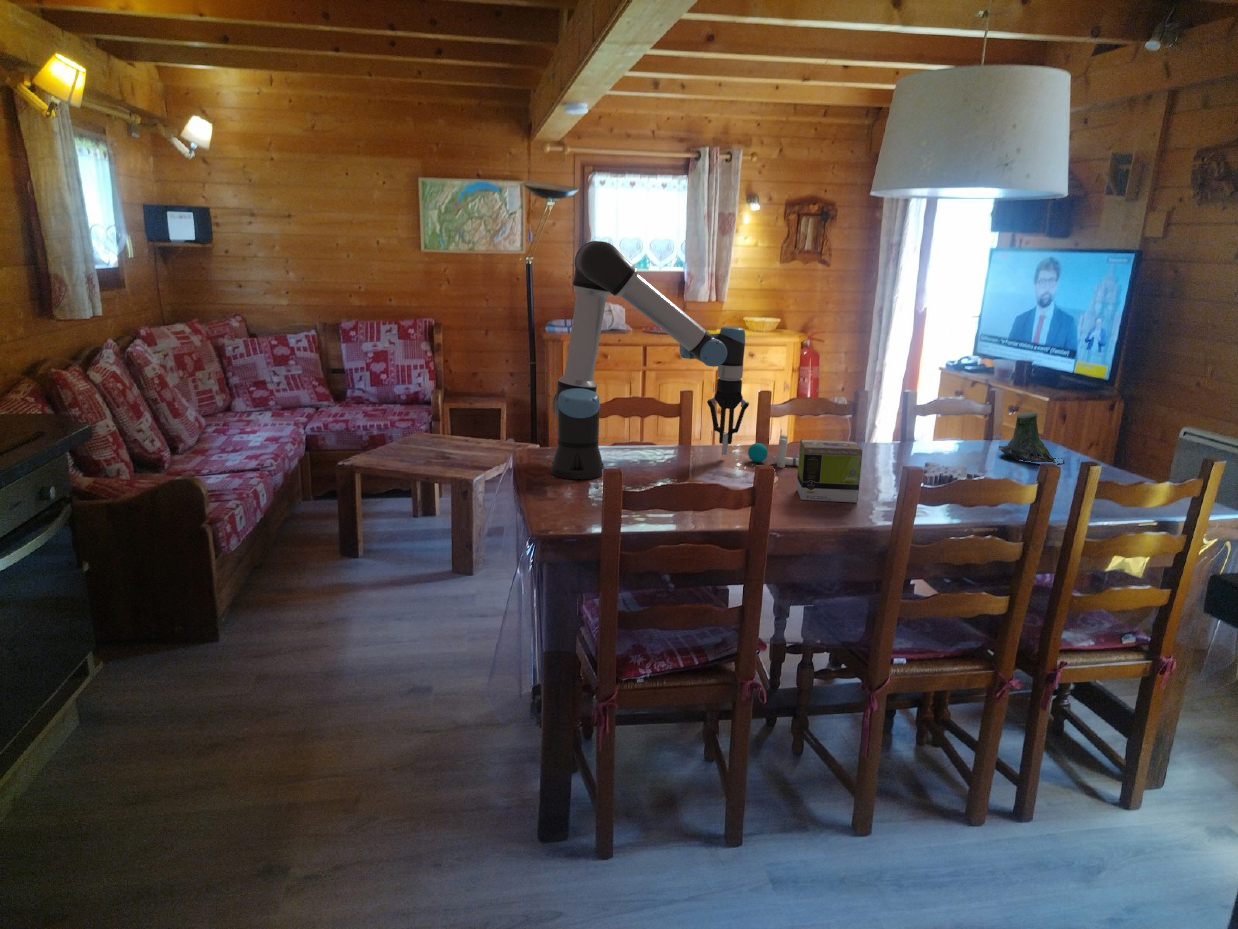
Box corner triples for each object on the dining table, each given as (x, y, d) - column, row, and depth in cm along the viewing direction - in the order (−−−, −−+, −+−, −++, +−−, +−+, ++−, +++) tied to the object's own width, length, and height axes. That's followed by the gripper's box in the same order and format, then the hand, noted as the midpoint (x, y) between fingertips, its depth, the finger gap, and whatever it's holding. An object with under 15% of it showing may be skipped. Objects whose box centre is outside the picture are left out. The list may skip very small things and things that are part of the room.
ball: (773, 458, 248) (757, 469, 250) (768, 447, 253) (752, 458, 255) (763, 446, 245) (747, 457, 247) (757, 435, 250) (742, 447, 252)
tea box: (851, 493, 222) (856, 440, 218) (857, 504, 212) (864, 449, 208) (795, 489, 223) (800, 437, 219) (799, 500, 214) (804, 446, 210)
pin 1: (776, 462, 251) (778, 435, 249) (780, 461, 253) (782, 434, 250) (782, 464, 249) (785, 437, 247) (786, 462, 251) (789, 436, 249)
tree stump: (1078, 468, 259) (1077, 415, 253) (1017, 481, 259) (1014, 428, 253) (1046, 451, 276) (1044, 401, 270) (989, 463, 276) (985, 414, 271)
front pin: (773, 455, 248) (801, 457, 246) (773, 457, 250) (801, 459, 249) (772, 462, 247) (800, 464, 246) (772, 465, 250) (800, 467, 248)
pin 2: (775, 466, 246) (777, 439, 244) (779, 465, 248) (782, 438, 246) (782, 468, 245) (784, 440, 242) (786, 466, 246) (788, 439, 244)
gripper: (752, 378, 248) (746, 452, 254) (710, 375, 251) (705, 449, 257) (750, 381, 241) (744, 458, 247) (706, 378, 244) (702, 454, 250)
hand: (724, 453), depth 252 cm, fingers closed
